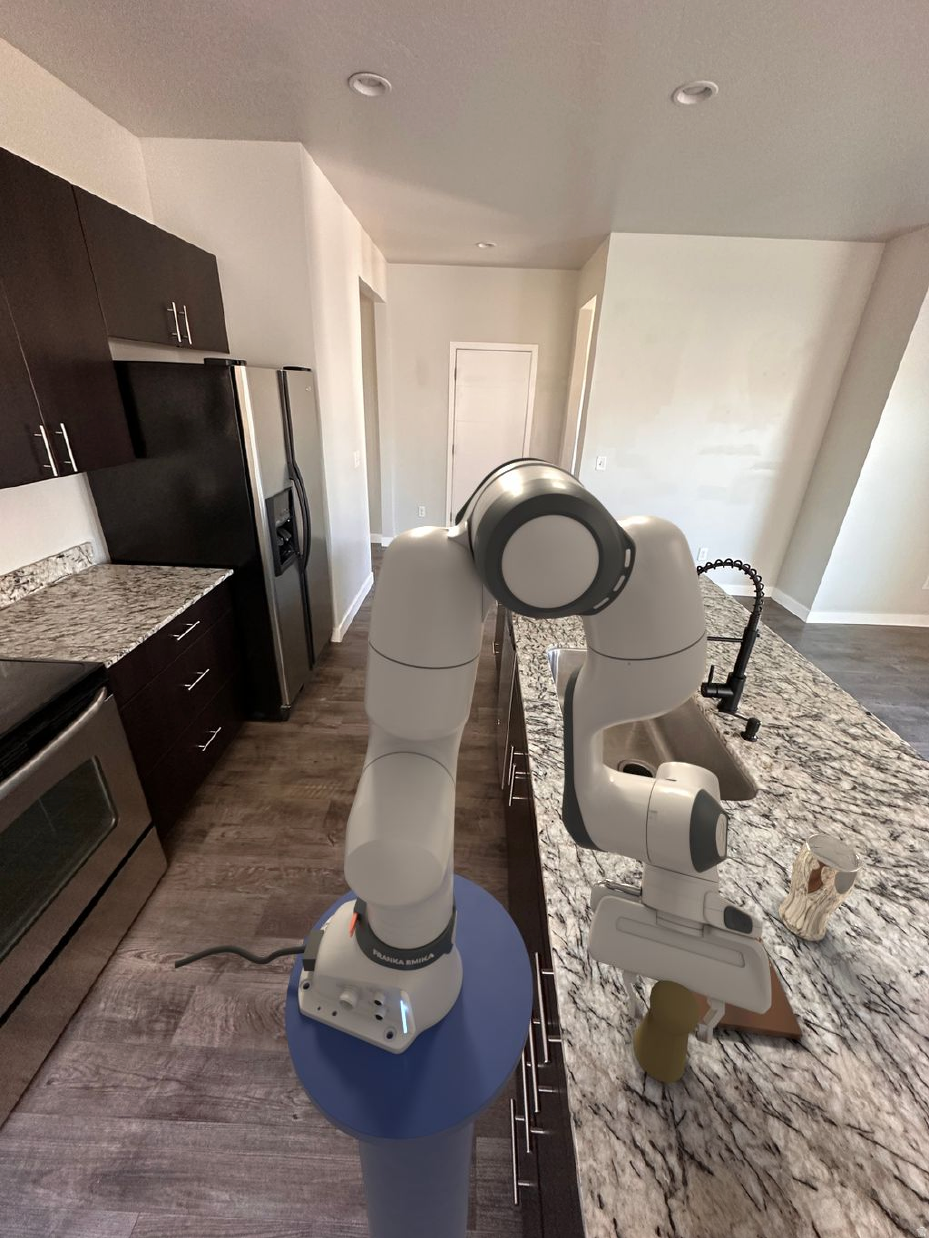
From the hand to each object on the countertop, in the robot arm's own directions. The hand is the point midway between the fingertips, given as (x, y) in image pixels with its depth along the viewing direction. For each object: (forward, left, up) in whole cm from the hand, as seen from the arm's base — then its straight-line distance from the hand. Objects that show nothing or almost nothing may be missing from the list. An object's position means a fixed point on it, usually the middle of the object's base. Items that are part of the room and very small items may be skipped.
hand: (668, 1029), depth 56 cm
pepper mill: (0, +1, -6) cm, 6 cm away
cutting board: (+11, +10, -6) cm, 16 cm away
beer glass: (+26, +21, -6) cm, 34 cm away
